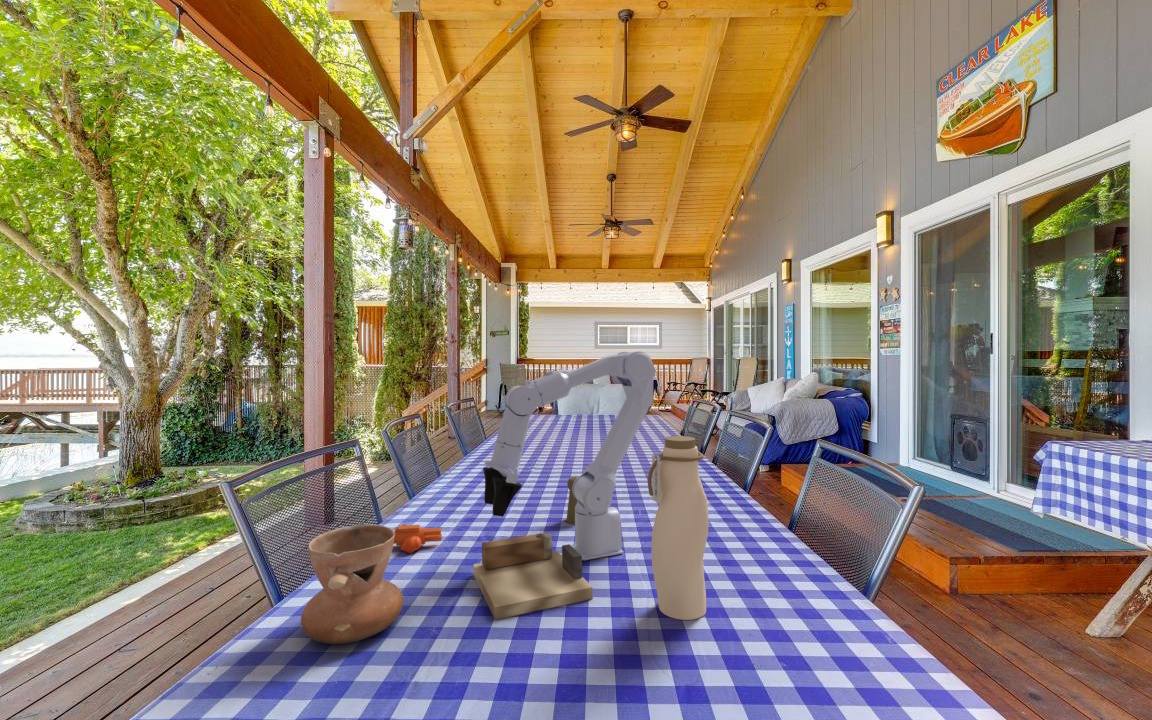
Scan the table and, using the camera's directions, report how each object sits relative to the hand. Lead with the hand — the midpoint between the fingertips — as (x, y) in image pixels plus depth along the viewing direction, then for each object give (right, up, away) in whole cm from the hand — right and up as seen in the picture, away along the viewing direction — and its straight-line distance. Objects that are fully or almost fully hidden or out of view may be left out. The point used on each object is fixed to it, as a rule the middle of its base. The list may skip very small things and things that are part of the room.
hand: (493, 509), depth 102 cm
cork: (+17, -11, +26) cm, 33 cm away
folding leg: (+6, -9, -4) cm, 11 cm away
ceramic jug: (-18, -12, -23) cm, 31 cm away
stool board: (+8, -11, -10) cm, 17 cm away
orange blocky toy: (-19, -12, +8) cm, 24 cm away
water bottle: (+34, -11, -19) cm, 40 cm away
